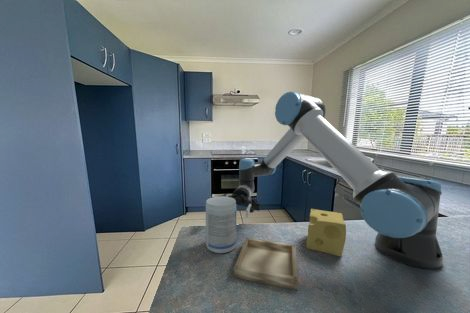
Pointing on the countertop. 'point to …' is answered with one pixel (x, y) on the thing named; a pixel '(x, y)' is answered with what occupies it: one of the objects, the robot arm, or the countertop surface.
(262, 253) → the tray
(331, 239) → the cheese
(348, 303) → the countertop surface
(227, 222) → the supplement tub
